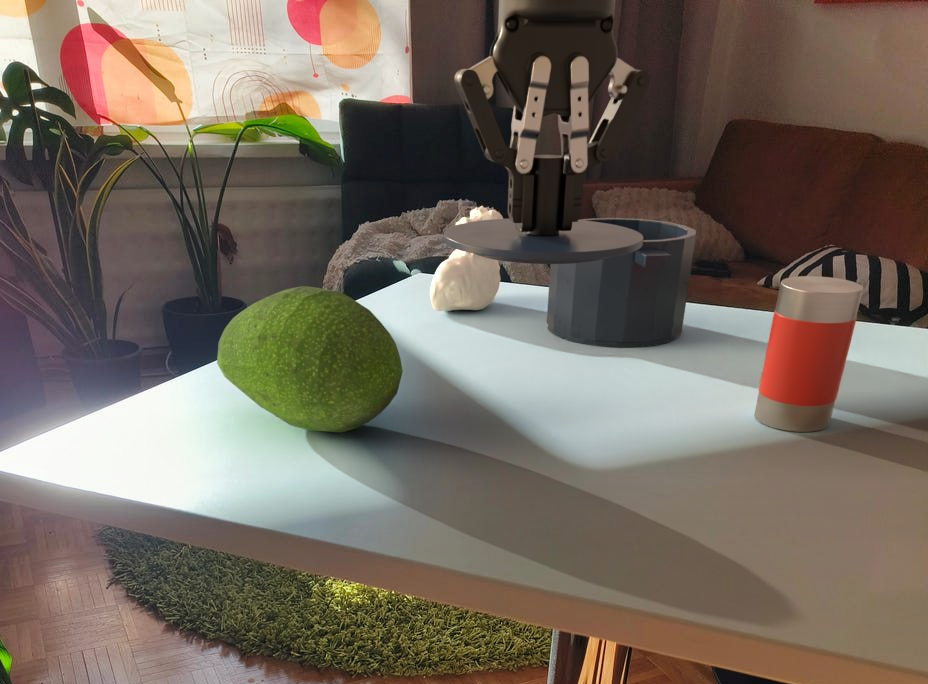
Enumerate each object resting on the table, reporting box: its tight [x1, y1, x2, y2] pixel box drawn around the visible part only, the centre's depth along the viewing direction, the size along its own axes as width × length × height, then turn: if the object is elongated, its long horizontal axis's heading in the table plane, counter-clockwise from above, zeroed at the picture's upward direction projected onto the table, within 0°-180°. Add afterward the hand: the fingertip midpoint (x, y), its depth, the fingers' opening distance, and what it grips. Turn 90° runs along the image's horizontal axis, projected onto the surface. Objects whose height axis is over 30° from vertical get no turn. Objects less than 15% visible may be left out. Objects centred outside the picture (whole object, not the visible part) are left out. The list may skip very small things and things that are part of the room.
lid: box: [443, 154, 643, 265], centre depth 64 cm, size 15×15×6 cm
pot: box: [546, 217, 697, 348], centre depth 89 cm, size 14×19×9 cm
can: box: [753, 275, 864, 433], centre depth 67 cm, size 6×6×10 cm
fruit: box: [216, 285, 404, 433], centre depth 65 cm, size 15×10×10 cm, turn 53°
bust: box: [429, 205, 504, 312], centre depth 96 cm, size 12×8×11 cm
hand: (543, 228), depth 65 cm, fingers closed on lid, 2 cm apart
